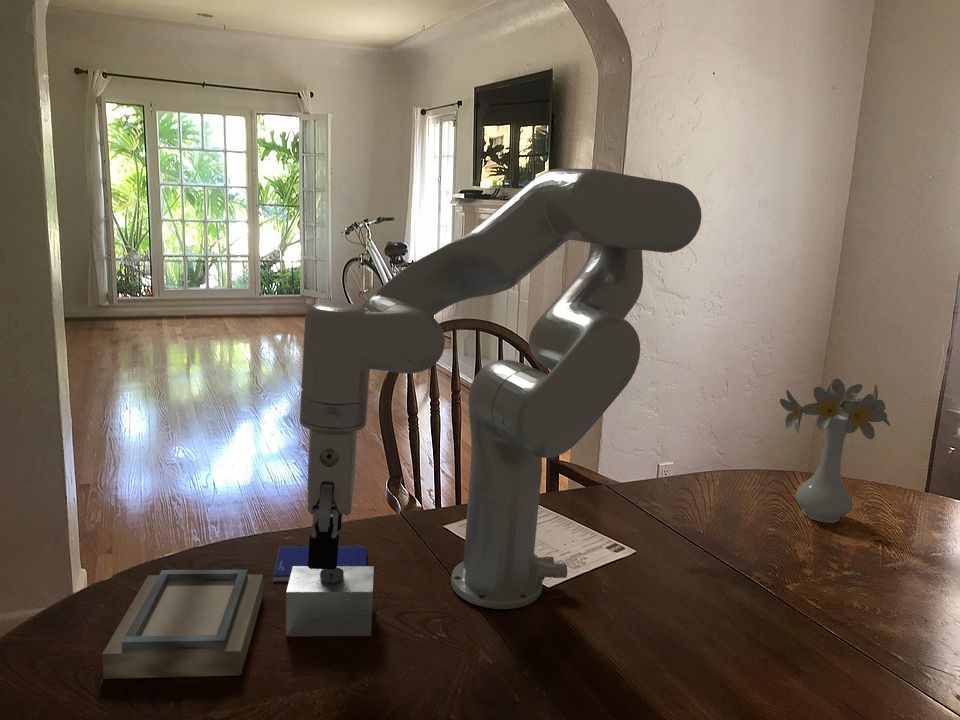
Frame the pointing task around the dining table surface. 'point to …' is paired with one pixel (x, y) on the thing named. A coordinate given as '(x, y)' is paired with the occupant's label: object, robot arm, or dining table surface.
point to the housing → (329, 601)
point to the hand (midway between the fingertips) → (325, 547)
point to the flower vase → (833, 444)
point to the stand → (186, 625)
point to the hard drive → (300, 558)
